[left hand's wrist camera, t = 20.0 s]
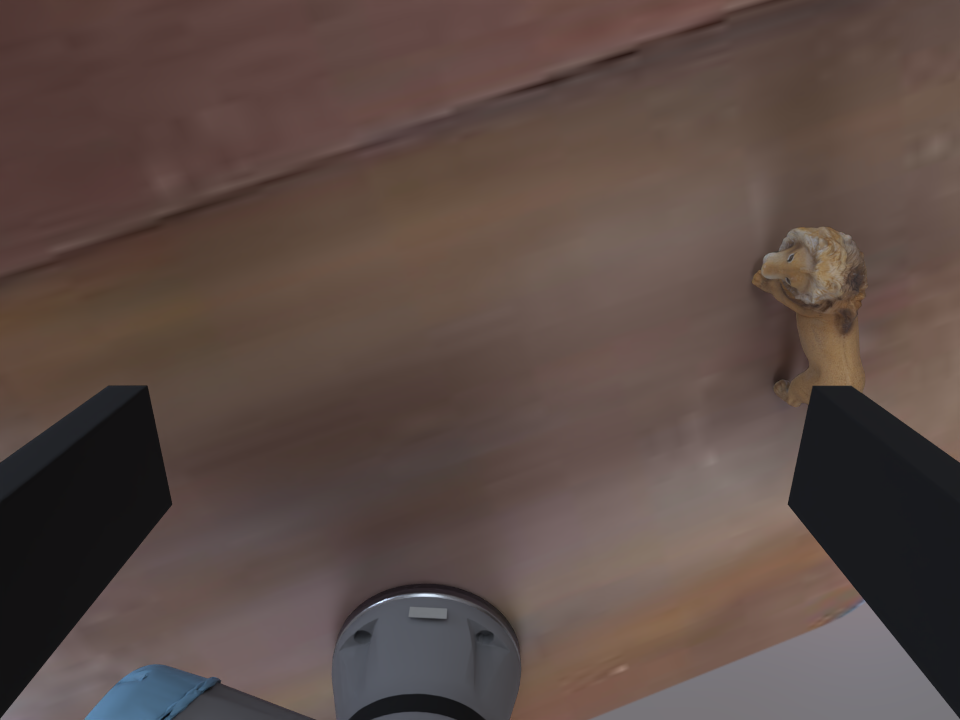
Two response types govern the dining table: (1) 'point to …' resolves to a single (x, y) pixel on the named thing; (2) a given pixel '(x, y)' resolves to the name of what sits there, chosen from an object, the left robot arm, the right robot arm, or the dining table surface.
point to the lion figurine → (819, 306)
